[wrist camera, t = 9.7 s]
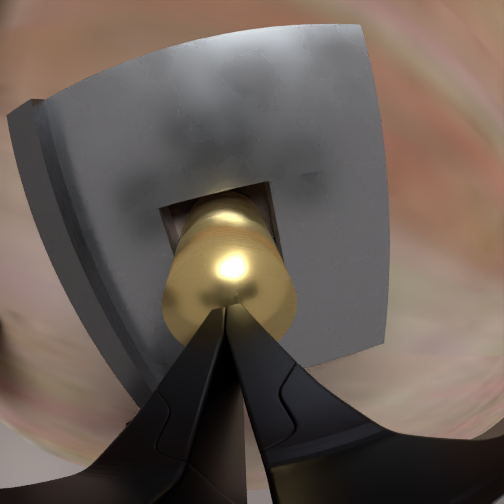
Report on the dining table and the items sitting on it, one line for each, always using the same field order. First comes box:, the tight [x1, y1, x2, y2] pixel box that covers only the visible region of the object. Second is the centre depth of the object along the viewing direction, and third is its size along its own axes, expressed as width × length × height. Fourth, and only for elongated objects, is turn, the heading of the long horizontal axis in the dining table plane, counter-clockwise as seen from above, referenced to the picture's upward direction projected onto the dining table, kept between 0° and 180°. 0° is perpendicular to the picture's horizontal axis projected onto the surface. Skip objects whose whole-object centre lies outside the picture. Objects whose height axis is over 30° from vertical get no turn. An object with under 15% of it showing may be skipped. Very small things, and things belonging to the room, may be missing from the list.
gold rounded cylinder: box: [162, 191, 297, 347], centre depth 12 cm, size 4×4×7 cm
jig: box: [7, 24, 390, 409], centre depth 13 cm, size 18×16×3 cm
